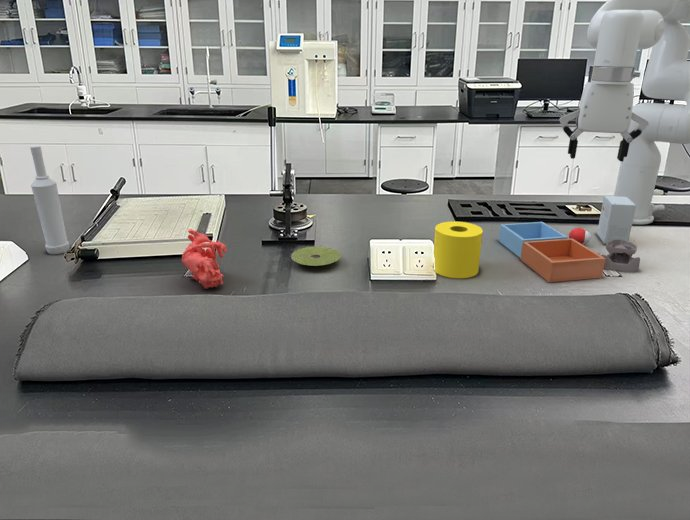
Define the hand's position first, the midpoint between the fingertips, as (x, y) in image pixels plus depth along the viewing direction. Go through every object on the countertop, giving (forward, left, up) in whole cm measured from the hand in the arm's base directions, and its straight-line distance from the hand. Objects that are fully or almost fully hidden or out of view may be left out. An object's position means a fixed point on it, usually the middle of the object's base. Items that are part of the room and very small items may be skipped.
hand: (595, 158), depth 116 cm
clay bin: (+8, +5, -23) cm, 25 cm away
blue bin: (+8, -7, -23) cm, 26 cm away
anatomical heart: (+85, -2, -23) cm, 88 cm away
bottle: (+121, -27, -23) cm, 126 cm away
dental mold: (-6, +6, -23) cm, 25 cm away
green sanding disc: (+61, -8, -23) cm, 66 cm away
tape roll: (+31, +1, -23) cm, 39 cm away
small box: (-15, -9, -23) cm, 29 cm away
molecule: (-5, -8, -23) cm, 25 cm away
